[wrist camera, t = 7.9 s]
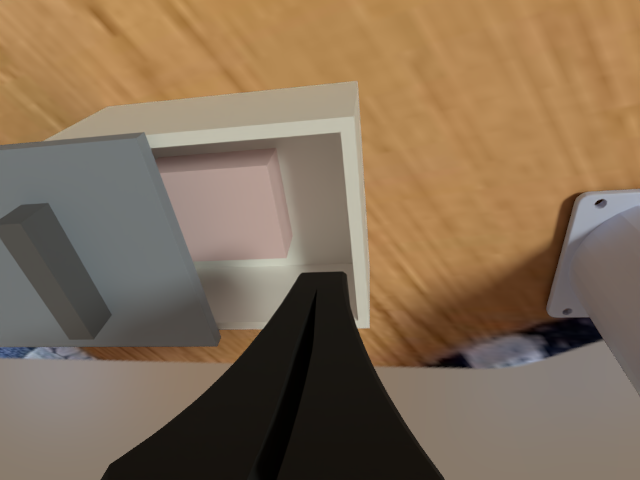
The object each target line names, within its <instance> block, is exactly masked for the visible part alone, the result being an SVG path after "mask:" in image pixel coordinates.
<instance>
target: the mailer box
mask: <svg viewBox="0 0 640 480" xmlns="http://www.w3.org/2000/svg"><path fill="white" fill-rule="evenodd" d="M140 132H145V135H146V138H147V140H148V143H149V146H150V148H151V151H152V154H153V156H154V159H155V162H156V164H157V167H158V170H159V172H160V175H161V178H162V180H163V183H164V186H165V188H166V191H167V194H168V196H169V199H170V202H171V204H172V207H173V210H174V212H175V215H176V218H177V220H178V223H179V226H180V228H181V231H182V234H183V237H184V239H185V242H186V245H187V247H188V250H189V253H190V255H191V258H192V261H193V263H194V266H195V269H196V271H197V274H198V277H199V279H200V282H201V285H202V287H203V290H204V293H205V295H206V298H207V301H208V303H209V306H210V309H211V311H212V314H213V317H214V319H215V322H216V325H217V327H218V330H228V329H263V328H264V327H265V326H266V324H267V323H268V322H269V320H270V319H271V317H272V316H273V314H274V313H275V312H276V310H277V309H278V307H279V306H280V305H281V303H282V302H283V300H284V299H285V297H286V296H287V294H288V292H289V291H290V289H291V288H292V286H293V284H294V283H295V281H296V279H297V278H298V276H299V275H300V274H301V273H305V272H337V271H343V272H344V273H346V274H347V280H348V290H349V299H350V307H351V310H352V314H353V317H354V320H355V323H356V326H357V328H370V268H369V248H368V233H367V217H366V202H365V186H364V171H363V155H362V140H361V125H360V109H359V94H358V81H351V82H341V83H332V84H322V85H312V86H303V87H293V88H283V89H274V90H264V91H254V92H245V93H235V94H225V95H216V96H206V97H196V98H187V99H177V100H167V101H157V102H148V103H138V104H128V105H119V106H109V107H106V108H104V109H102V110H100V111H98V112H96V113H95V114H93V115H91V116H89V117H87V118H85V119H83V120H81V121H80V122H78V123H76V124H74V125H72V126H70V127H68V128H66V129H65V130H63V131H61V132H59V133H57V134H55V135H53V136H52V137H50V138H48V139H46V140H44V141H52V140H63V139H74V138H85V137H96V136H107V135H118V134H129V133H140Z"/></svg>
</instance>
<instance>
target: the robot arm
mask: <svg viewBox="0 0 640 480" xmlns="http://www.w3.org/2000/svg"><path fill="white" fill-rule="evenodd" d="M600 199H603V200H602V202H601V203H599V204H597V205H594V204H595V203H596V202H597V201H598V200H600ZM567 308H568V309H567ZM565 309H567V310H565ZM546 310H547V312H548V314H549V316H551V317H555V318H561V317H590V319H591V320H592V322H593V323H594V325H595V326H596V328H597V330H598V331H599V333H600V334H601V336H602V338H603V339H604V341H605V342H606V344H607V345H608V347H609V348H610V350H611V352H612V353H613V355H614V356H615V358H616V360H617V361H618V363H619V364H620V366H621V368H622V369H623V371H624V372H625V374H626V376H627V377H628V379H629V380H630V382H631V384H632V385H633V387H634V388H635V390H636V391H637V393H638V395H639V396H640V189H629V190H611V191H593V192H585V193H582V194H581V195H579V196H578V197H577V198H576V200H575V202H574V206H573V209H572V213H571V217H570V221H569V224H568V228H567V232H566V236H565V239H564V243H563V247H562V251H561V254H560V258H559V262H558V266H557V269H556V273H555V277H554V281H553V284H552V288H551V292H550V296H549V299H548V303H547V307H546ZM101 480H445V479H444V477H443V476H442V474H441V473H440V472H439V470H438V469H437V468H436V466H435V465H434V464H433V462H432V461H431V460H430V458H429V457H428V456H427V454H426V453H425V451H424V450H423V449H422V447H421V446H420V444H419V443H418V441H417V440H416V438H415V437H414V435H413V434H412V432H411V431H410V429H409V428H408V426H407V425H406V423H405V422H404V420H403V418H402V417H401V415H400V413H399V412H398V410H397V408H396V407H395V405H394V403H393V402H392V400H391V398H390V397H389V395H388V394H387V392H386V390H385V388H384V386H383V384H382V382H381V381H380V379H379V377H378V375H377V373H376V371H375V369H374V367H373V365H372V363H371V360H370V358H369V356H368V354H367V351H366V349H365V347H364V344H363V342H362V339H361V337H360V334H359V332H358V329H357V326H356V323H355V320H354V317H353V314H352V310H351V307H350V299H349V290H348V280H347V274H346V273H344V272H343V271H337V272H305V273H301V274H300V275H299V276H298V278H297V279H296V281H295V283H294V284H293V286H292V288H291V289H290V291H289V292H288V294H287V296H286V297H285V299H284V300H283V302H282V303H281V305H280V306H279V307H278V309H277V310H276V312H275V313H274V314H273V316H272V317H271V319H270V320H269V322H268V323H267V324H266V326H265V327H264V328H263V329H262V331H261V332H260V333H259V334H258V336H257V337H256V338H255V339H254V341H253V342H252V343H251V344H250V346H249V347H248V348H247V349H246V350H245V351H244V353H243V354H242V355H241V356H240V357H239V358H238V359H237V360H236V362H235V363H234V364H233V365H232V366H231V367H230V368H229V369H228V370H227V371H226V372H225V373H224V374H223V375H222V376H221V377H220V378H219V379H218V380H217V381H216V382H215V383H214V384H213V385H212V386H211V387H210V388H209V389H208V390H207V391H206V392H205V393H203V394H202V395H201V396H200V397H199V398H198V399H197V400H195V401H194V402H193V403H192V404H191V405H190V406H188V407H187V408H186V409H185V410H183V411H182V412H181V413H180V414H179V415H177V416H176V417H175V418H174V419H172V420H171V421H170V422H169V423H168V424H166V425H165V426H164V427H163V428H161V429H160V430H158V431H157V432H156V433H154V434H153V435H152V436H150V437H149V438H148V439H146V440H145V441H143V442H142V443H140V444H139V445H137V446H136V447H135V448H133V449H132V450H130V451H129V452H127V453H126V454H125V455H123V456H122V457H120V458H119V459H117V460H116V461H114V462H113V463H111V464H110V465H109V467H108V468H107V470H106V472H105V473H104V475H103V477H102V479H101Z"/></svg>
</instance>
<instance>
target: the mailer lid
mask: <svg viewBox="0 0 640 480" xmlns="http://www.w3.org/2000/svg"><path fill="white" fill-rule="evenodd" d="M220 338H221V335H220V333H219V330H218V327H217V325H216V322H215V319H214V317H213V314H212V311H211V309H210V306H209V303H208V301H207V298H206V295H205V293H204V290H203V287H202V285H201V282H200V279H199V277H198V274H197V271H196V269H195V266H194V263H193V261H192V258H191V255H190V253H189V250H188V247H187V245H186V242H185V239H184V237H183V234H182V231H181V228H180V226H179V223H178V220H177V218H176V215H175V212H174V210H173V207H172V204H171V202H170V199H169V196H168V194H167V191H166V188H165V186H164V183H163V180H162V178H161V175H160V172H159V170H158V167H157V164H156V162H155V159H154V156H153V154H152V151H151V148H150V146H149V143H148V140H147V138H146V135H145V132H140V133H129V134H118V135H107V136H96V137H85V138H74V139H63V140H52V141H41V142H30V143H19V144H8V145H0V347H191V346H218V343H219V341H220Z"/></svg>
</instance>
